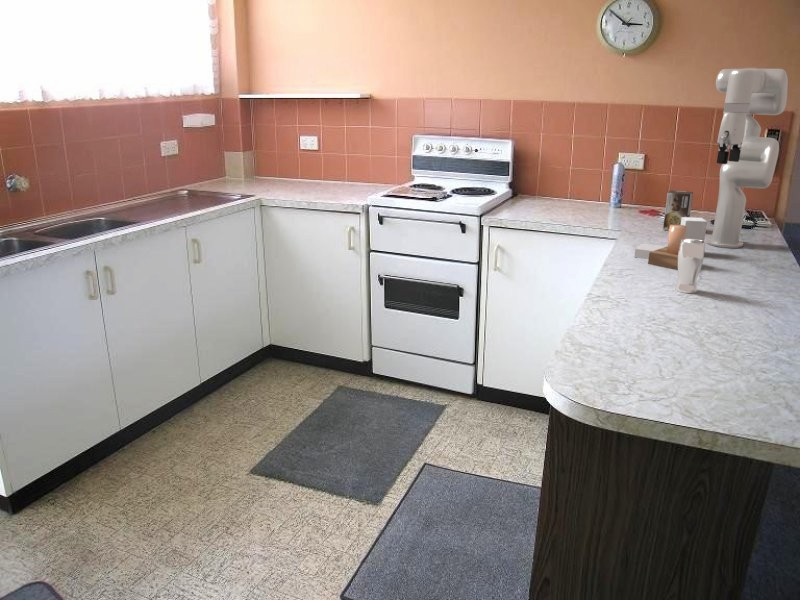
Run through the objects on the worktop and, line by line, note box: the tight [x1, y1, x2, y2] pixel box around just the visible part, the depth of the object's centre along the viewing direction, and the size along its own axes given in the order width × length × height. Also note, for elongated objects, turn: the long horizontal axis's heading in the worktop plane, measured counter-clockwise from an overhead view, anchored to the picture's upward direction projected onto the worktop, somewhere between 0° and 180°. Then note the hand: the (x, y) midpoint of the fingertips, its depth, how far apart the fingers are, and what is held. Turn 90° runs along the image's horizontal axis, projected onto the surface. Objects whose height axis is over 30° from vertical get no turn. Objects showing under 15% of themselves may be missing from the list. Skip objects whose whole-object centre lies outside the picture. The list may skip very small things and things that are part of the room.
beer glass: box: [674, 238, 706, 294], centre depth 195 cm, size 7×7×15 cm
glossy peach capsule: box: [667, 225, 687, 254], centre depth 223 cm, size 5×5×9 cm
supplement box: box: [681, 216, 708, 241], centre depth 238 cm, size 7×7×13 cm
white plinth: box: [634, 243, 668, 260], centre depth 235 cm, size 10×10×3 cm
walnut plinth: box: [647, 247, 678, 271], centre depth 225 cm, size 12×12×4 cm
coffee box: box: [662, 189, 694, 232], centre depth 274 cm, size 9×6×16 cm
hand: (727, 162), depth 222 cm, fingers open, 9 cm apart
